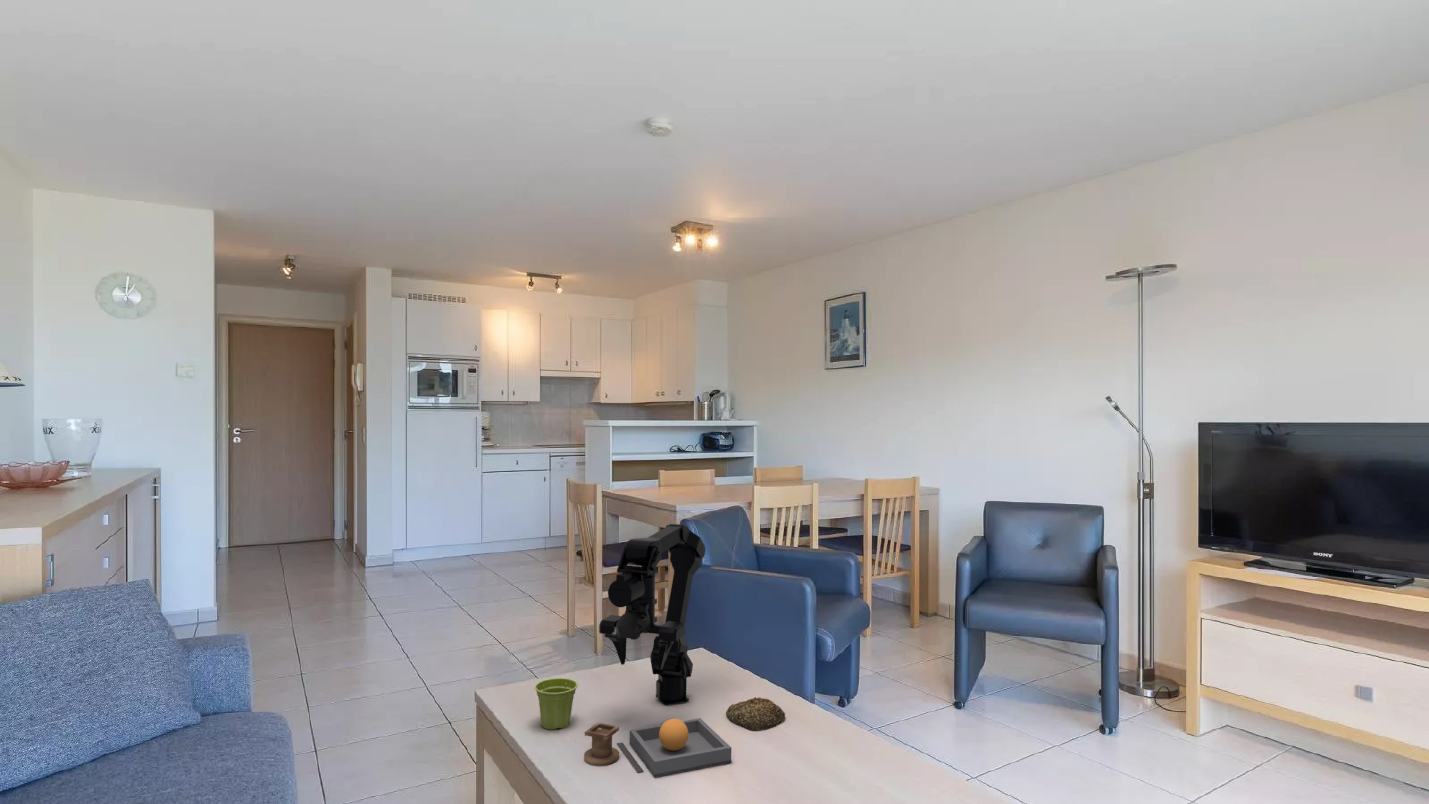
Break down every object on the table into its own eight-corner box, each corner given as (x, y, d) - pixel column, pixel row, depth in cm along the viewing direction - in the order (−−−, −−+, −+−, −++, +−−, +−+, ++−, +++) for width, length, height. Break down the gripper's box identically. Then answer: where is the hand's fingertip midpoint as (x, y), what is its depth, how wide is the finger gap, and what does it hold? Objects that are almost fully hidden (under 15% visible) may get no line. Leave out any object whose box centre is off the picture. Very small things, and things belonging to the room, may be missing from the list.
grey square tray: (700, 732, 164) (700, 718, 164) (731, 762, 149) (731, 747, 149) (629, 744, 157) (629, 729, 157) (654, 777, 143) (654, 761, 143)
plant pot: (585, 719, 170) (585, 680, 170) (563, 736, 161) (564, 695, 161) (548, 713, 173) (549, 675, 173) (525, 729, 164) (526, 689, 164)
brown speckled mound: (749, 735, 163) (749, 712, 163) (718, 716, 173) (718, 694, 173) (796, 723, 170) (796, 700, 170) (763, 705, 180) (763, 684, 180)
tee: (595, 748, 155) (595, 720, 155) (625, 753, 153) (625, 725, 153) (577, 762, 149) (577, 733, 149) (608, 768, 146) (608, 738, 146)
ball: (682, 721, 159) (666, 708, 155) (699, 735, 154) (683, 722, 151) (664, 745, 157) (648, 733, 153) (680, 761, 152) (664, 749, 149)
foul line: (622, 743, 158) (622, 742, 158) (643, 772, 145) (643, 771, 145) (616, 744, 157) (616, 743, 157) (637, 773, 144) (637, 772, 144)
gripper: (587, 601, 163) (586, 673, 163) (666, 609, 157) (666, 684, 157) (610, 589, 174) (610, 657, 174) (686, 596, 168) (685, 667, 167)
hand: (641, 666), depth 168 cm, fingers open, 9 cm apart
